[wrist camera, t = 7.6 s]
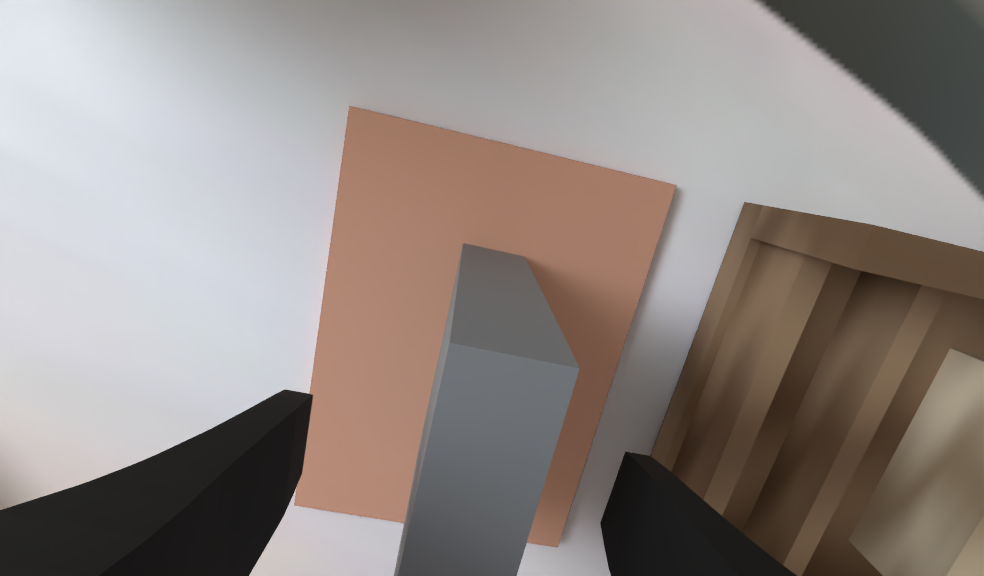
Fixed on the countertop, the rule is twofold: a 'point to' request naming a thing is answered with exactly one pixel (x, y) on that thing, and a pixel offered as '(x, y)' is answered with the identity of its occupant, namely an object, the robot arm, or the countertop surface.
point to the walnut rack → (814, 375)
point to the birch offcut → (933, 483)
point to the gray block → (487, 423)
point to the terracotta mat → (428, 290)
